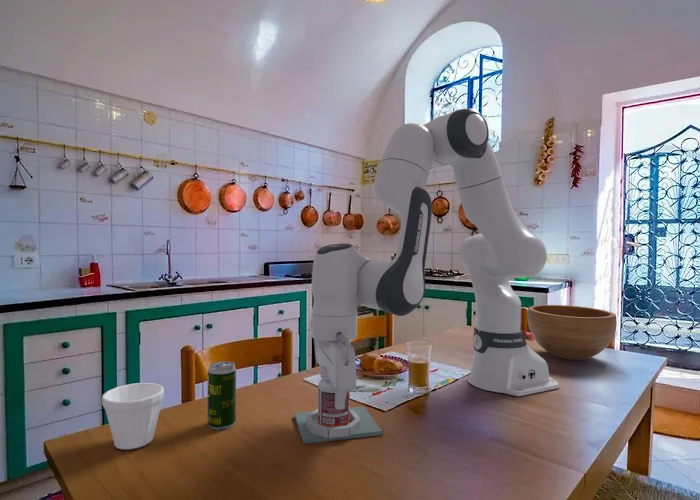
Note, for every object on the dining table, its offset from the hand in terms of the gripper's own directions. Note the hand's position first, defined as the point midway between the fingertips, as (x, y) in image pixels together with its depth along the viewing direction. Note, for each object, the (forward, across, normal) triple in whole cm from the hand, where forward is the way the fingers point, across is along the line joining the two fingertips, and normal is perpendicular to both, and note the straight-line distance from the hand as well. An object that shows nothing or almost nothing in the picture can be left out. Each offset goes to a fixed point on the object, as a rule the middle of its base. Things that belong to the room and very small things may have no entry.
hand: (333, 398), depth 83 cm
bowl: (+6, +32, -84) cm, 90 cm away
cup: (+6, +3, +36) cm, 37 cm away
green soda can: (+6, +7, +21) cm, 23 cm away
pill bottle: (+6, 0, 0) cm, 6 cm away
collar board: (+6, +2, -1) cm, 6 cm away
